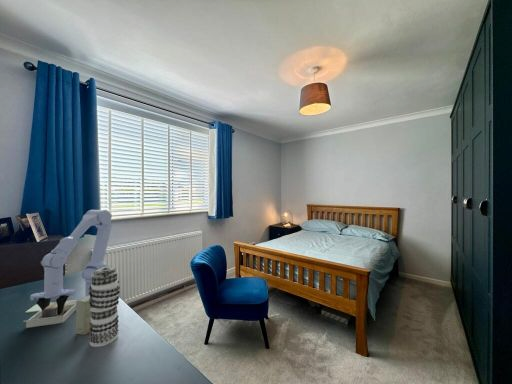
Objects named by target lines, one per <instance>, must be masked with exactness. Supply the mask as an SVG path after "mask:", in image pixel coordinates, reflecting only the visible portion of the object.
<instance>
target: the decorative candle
mask: <svg viewBox="0 0 512 384" xmlns="http://www.w3.org/2000/svg"><path fill="white" fill-rule="evenodd" d="M118 273H119V270H118V269H116V267H114V266H107V267H103V268H99V269H97V270H96V271H95V272H94V273H93V274H92V275H91V276H92V284H91V286H90V288H89V290H90V292H89V294H90V295H89V296H90V298H89V300H90V303H89V304H90V306H91V308H90V311H91V312H92V317H91V323H90V332H89V333H88V335H89V338H88V340H89V345H90V346H91V347H93V348H96V347H97V348H99V347H100V348H101V347H104V346H106V345H108V344H111V343H113V342H114V341H115V340H116V339H117V338H118V337H119V317H120V316H119V315H118V313H119V312H118V305H119V302H120V301H119V299H120V296H119V294H120V286H119V285H118V284H119V283H120V280H119V279H118ZM91 288H92V289H91ZM91 292H92V293H91Z"/></svg>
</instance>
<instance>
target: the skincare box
mask: <svg viewBox="0 0 512 384" xmlns="http://www.w3.org/2000/svg"><path fill="white" fill-rule="evenodd" d="M89 298H90V296H89V295H88V296H86V297H85V296H84V297H82V298H79V300H77V299H76V300H77V301H76V310H75V334H77V335H84V336H85V335H86V334H89V333H90V323H91V317H92V312H91V311H90V308H91V306H90V304H89V303H90V300H89Z"/></svg>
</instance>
